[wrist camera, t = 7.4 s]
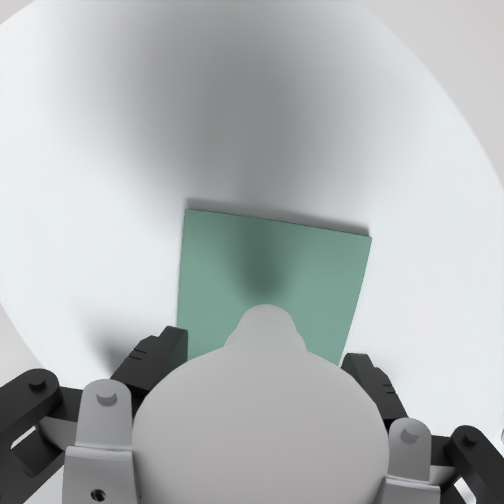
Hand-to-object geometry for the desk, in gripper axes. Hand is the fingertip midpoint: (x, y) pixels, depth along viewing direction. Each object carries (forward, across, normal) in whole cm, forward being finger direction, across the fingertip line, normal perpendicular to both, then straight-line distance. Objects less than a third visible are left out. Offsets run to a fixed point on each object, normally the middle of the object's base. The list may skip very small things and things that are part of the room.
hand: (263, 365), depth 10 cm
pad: (+5, 0, 0) cm, 5 cm away
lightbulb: (+4, 0, 0) cm, 4 cm away
